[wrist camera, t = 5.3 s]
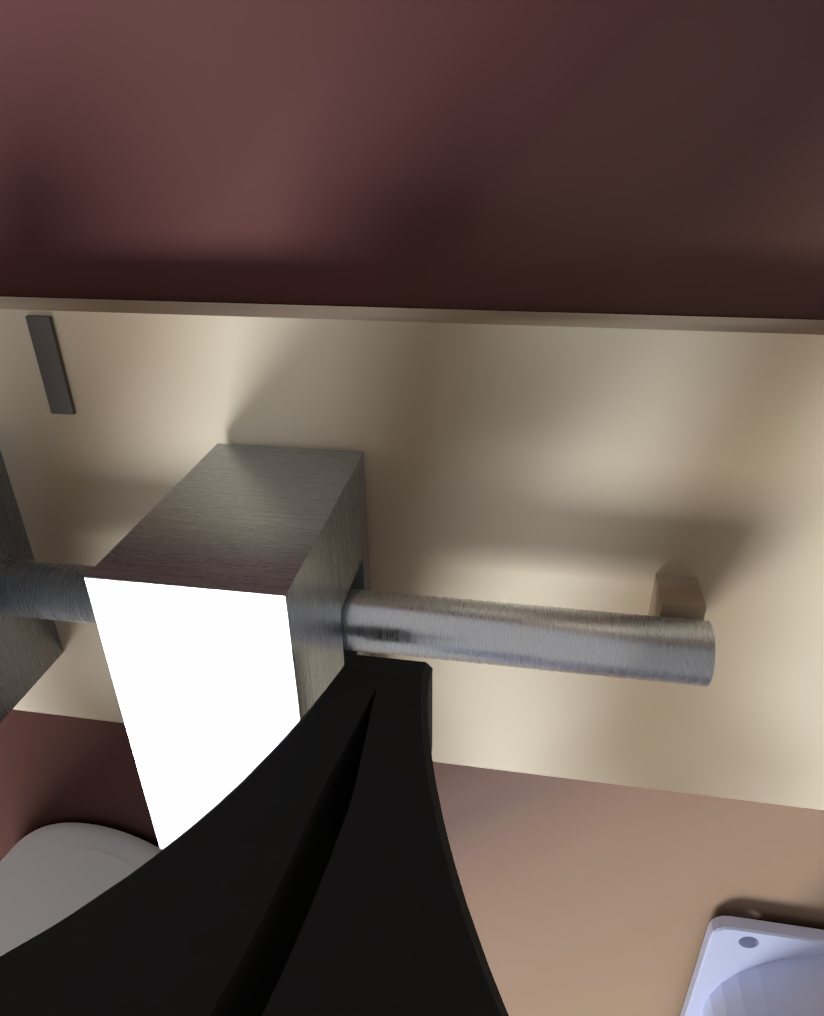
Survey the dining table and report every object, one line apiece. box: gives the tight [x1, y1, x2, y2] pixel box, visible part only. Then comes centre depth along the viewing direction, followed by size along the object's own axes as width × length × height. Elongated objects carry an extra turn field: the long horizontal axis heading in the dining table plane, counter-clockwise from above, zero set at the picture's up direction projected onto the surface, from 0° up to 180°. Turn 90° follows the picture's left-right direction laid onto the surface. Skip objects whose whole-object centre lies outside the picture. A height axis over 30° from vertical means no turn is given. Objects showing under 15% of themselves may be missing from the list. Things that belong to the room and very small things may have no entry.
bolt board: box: [0, 297, 824, 810], centre depth 14 cm, size 23×11×6 cm, turn 91°
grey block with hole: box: [84, 443, 374, 850], centre depth 14 cm, size 3×6×5 cm, turn 1°
